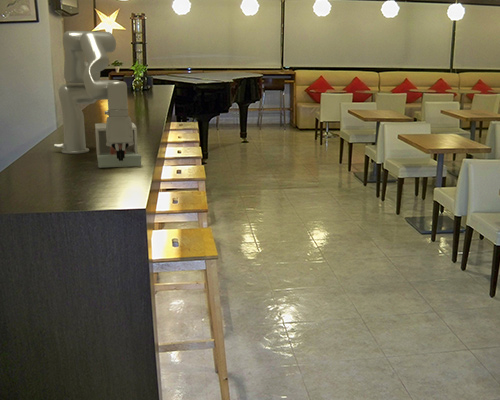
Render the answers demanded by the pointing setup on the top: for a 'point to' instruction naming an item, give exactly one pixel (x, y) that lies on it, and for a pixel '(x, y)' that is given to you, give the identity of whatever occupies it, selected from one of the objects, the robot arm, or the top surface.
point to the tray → (112, 160)
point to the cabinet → (101, 139)
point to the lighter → (113, 151)
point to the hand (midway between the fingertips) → (120, 160)
